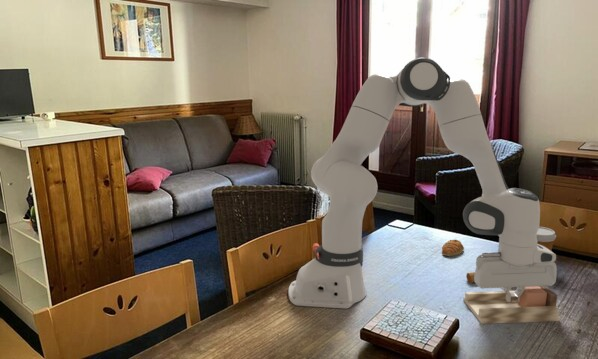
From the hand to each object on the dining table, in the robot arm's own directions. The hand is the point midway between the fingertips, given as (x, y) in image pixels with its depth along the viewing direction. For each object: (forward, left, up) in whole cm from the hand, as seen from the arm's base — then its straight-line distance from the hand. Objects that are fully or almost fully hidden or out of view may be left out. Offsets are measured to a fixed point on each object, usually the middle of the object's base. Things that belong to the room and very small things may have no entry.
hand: (512, 300), depth 120 cm
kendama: (+4, +18, -3) cm, 19 cm away
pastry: (-1, +40, -3) cm, 40 cm away
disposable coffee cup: (+21, +27, -3) cm, 35 cm away
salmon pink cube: (+5, 0, -2) cm, 5 cm away
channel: (-1, 0, -3) cm, 3 cm away
